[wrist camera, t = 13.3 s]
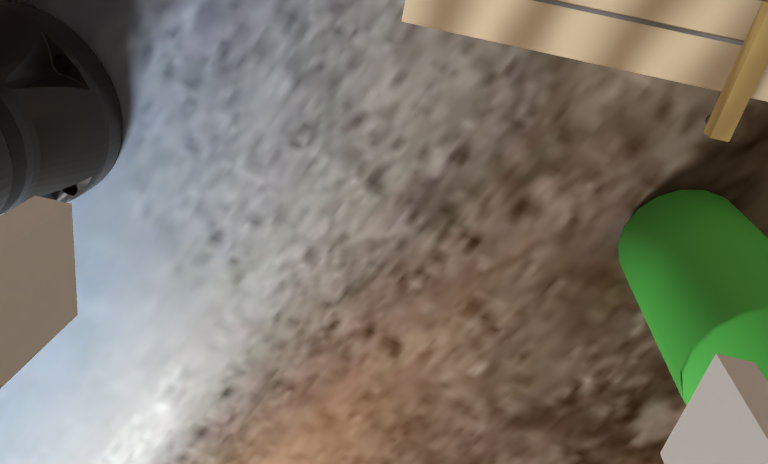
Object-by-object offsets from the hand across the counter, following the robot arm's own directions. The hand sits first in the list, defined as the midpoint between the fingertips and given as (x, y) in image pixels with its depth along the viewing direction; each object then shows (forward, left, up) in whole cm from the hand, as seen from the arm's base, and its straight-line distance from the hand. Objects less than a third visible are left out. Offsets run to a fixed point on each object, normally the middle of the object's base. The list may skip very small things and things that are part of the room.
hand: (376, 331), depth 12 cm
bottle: (+20, -9, -32) cm, 39 cm away
